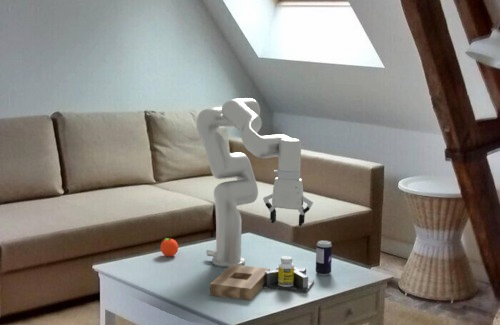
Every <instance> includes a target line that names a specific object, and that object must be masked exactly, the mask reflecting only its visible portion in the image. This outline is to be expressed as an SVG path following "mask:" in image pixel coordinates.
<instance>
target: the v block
mask: <svg viewBox="0 0 500 325" xmlns="http://www.w3.org/2000/svg"><path fill="white" fill-rule="evenodd" d="M278 269H279V265H278V266H277V267H276V268H275V269H274V270H273V269H272V270H270V271H265V282H264V284H263V285H262V288H263V289H272V290H279V291H288V292H296V293H303V294H308V292H309V290H310V289H311V288H312V286H313V285H314V283H315V280H314V279H309V276H308V275H307V268H306V267H298V266H294V284H293V285H292V286H290V287H283V286H280V285H279V284H278ZM262 288H261V289H262Z"/></svg>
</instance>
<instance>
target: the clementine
mask: <svg viewBox="0 0 500 325" xmlns="http://www.w3.org/2000/svg"><path fill="white" fill-rule="evenodd" d="M160 243H161V244H160V251H161V253H162V254H163V255H164V256H166V257H173V256H175V255H176V254H177V253H178V251H179V244H178V242H177V241H176V239H173V238H167V237H166V238H164V239H162V240H161V242H160Z"/></svg>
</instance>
